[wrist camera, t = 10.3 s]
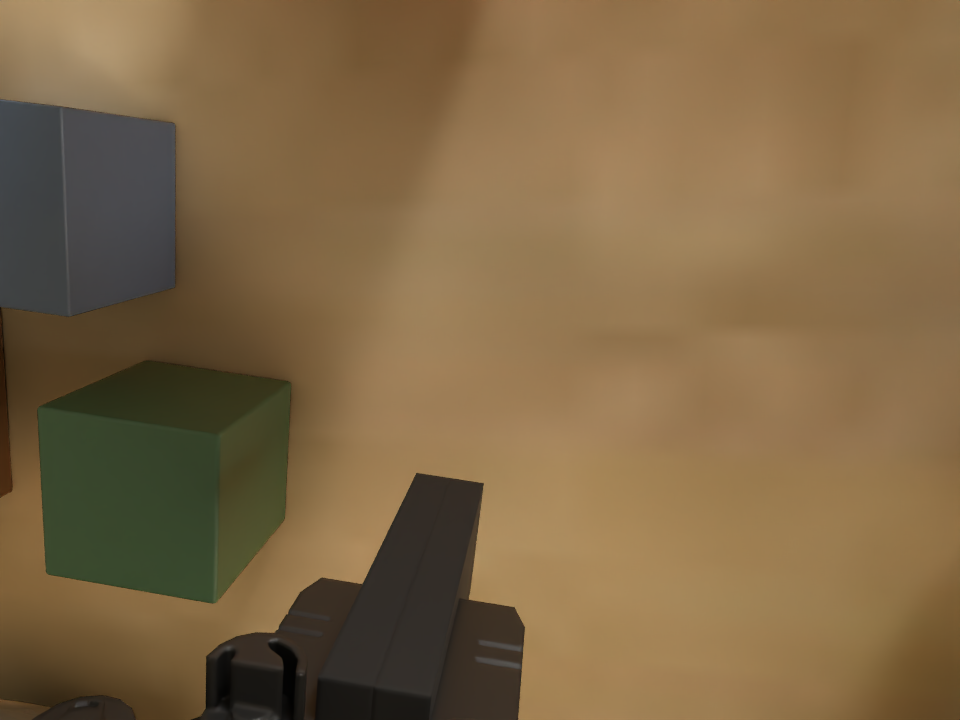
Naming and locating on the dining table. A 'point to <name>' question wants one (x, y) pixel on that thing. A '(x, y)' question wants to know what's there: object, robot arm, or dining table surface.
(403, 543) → the robot arm
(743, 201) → the dining table surface
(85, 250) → the slate block
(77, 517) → the green block
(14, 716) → the vessel
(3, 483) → the walnut rail
